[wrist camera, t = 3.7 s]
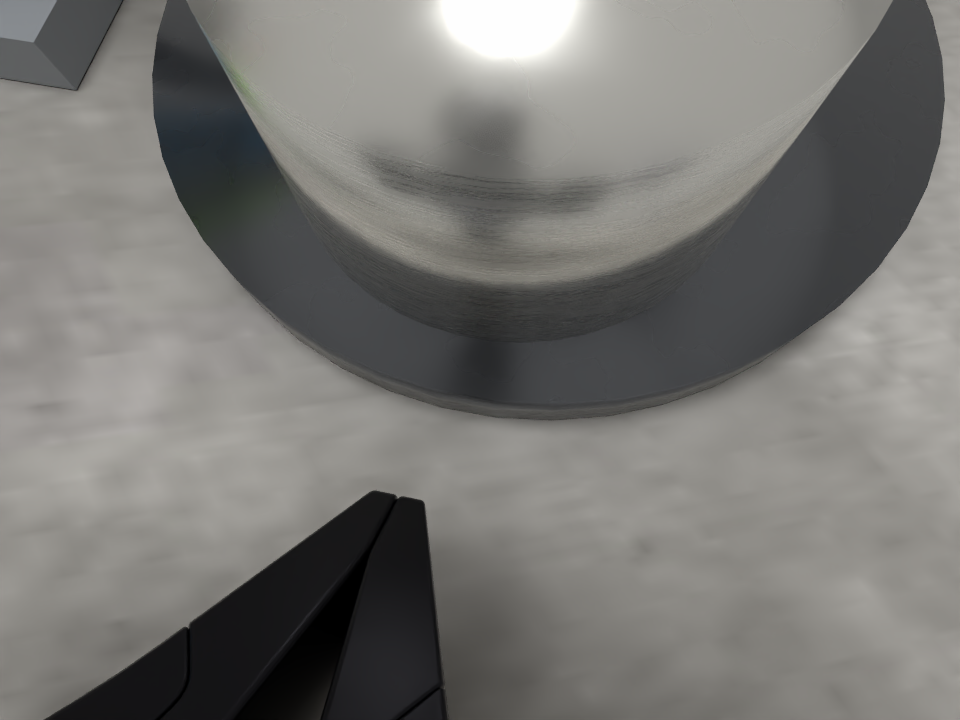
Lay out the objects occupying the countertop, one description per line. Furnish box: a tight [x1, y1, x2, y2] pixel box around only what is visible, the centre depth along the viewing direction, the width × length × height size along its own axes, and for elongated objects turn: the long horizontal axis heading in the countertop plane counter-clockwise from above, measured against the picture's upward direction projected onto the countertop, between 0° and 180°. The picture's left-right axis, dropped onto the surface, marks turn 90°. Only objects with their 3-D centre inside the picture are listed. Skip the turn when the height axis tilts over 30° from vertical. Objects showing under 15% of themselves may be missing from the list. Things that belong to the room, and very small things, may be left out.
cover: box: [186, 0, 893, 343], centre depth 13 cm, size 13×13×8 cm
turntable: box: [152, 0, 945, 420], centre depth 19 cm, size 24×24×2 cm
